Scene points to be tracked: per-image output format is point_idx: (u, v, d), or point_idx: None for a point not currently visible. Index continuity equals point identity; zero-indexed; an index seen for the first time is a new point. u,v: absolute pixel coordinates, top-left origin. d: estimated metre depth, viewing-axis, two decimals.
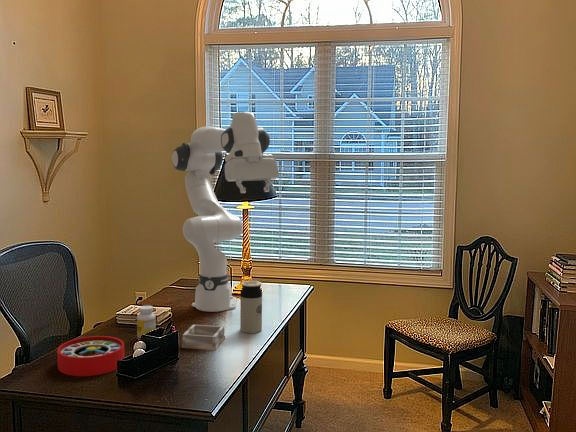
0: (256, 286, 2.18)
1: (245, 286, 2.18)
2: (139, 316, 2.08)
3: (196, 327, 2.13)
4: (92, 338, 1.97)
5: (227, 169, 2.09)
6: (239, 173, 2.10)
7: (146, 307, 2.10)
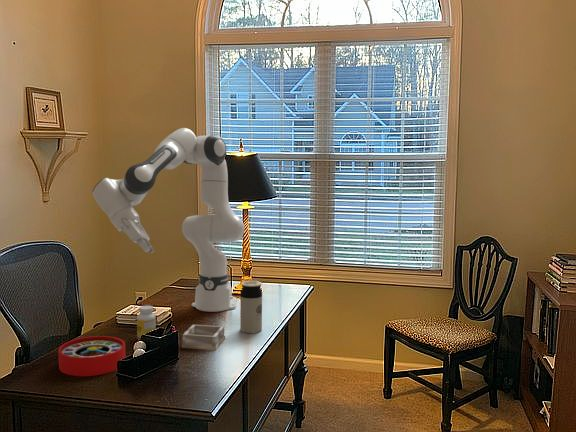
0: (256, 286, 2.18)
1: (245, 286, 2.18)
2: (139, 316, 2.08)
3: (196, 327, 2.13)
4: (93, 338, 1.97)
5: None
6: None
7: (146, 307, 2.10)
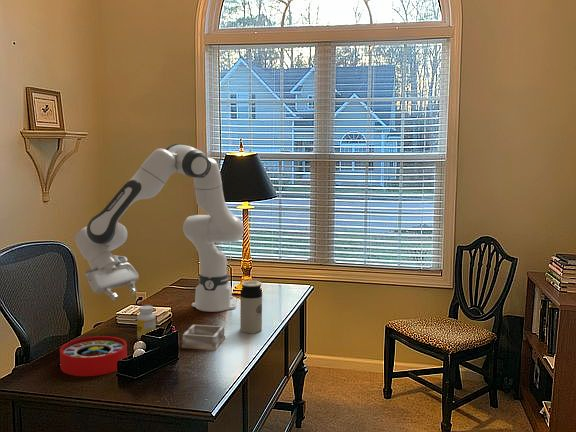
0: (256, 286, 2.18)
1: (245, 286, 2.18)
2: (139, 316, 2.08)
3: (196, 327, 2.13)
4: (94, 338, 1.97)
5: None
6: None
7: (146, 307, 2.10)
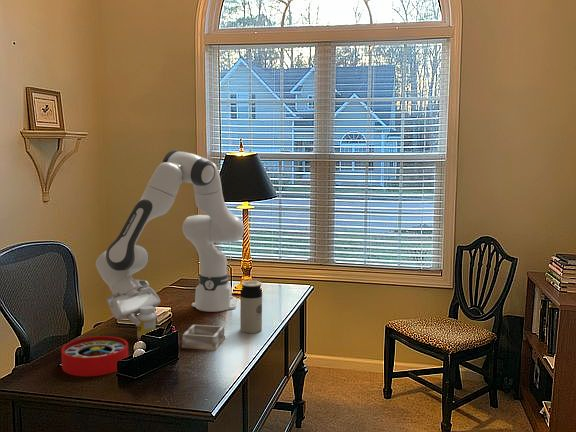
0: (256, 286, 2.18)
1: (245, 286, 2.18)
2: (139, 316, 2.08)
3: (196, 327, 2.13)
4: (95, 338, 1.96)
5: None
6: None
7: (146, 307, 2.10)
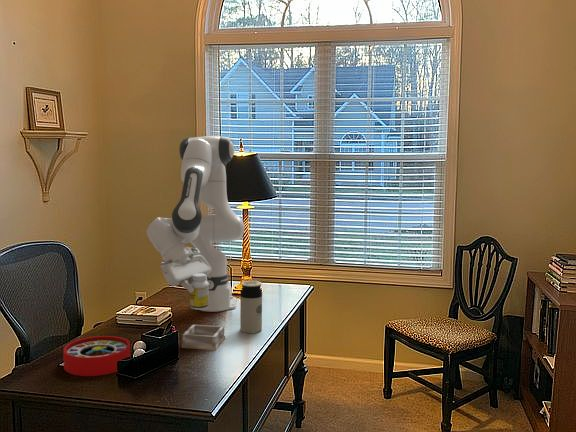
0: (256, 286, 2.18)
1: (245, 286, 2.18)
2: (192, 283, 2.04)
3: (196, 327, 2.13)
4: (96, 338, 1.97)
5: None
6: None
7: (199, 274, 2.05)
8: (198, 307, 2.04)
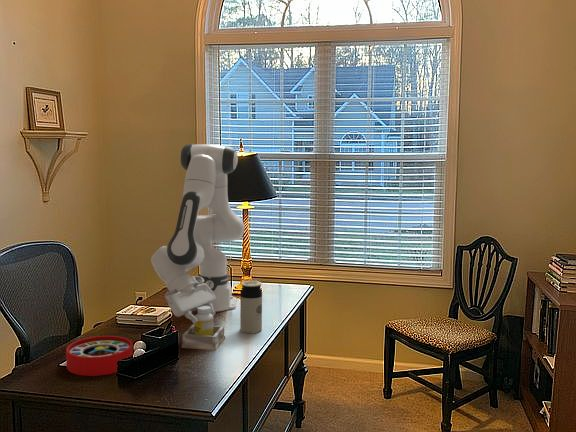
0: (256, 286, 2.18)
1: (245, 286, 2.18)
2: (197, 316, 2.05)
3: None
4: (99, 338, 1.97)
5: None
6: None
7: (204, 307, 2.07)
8: None
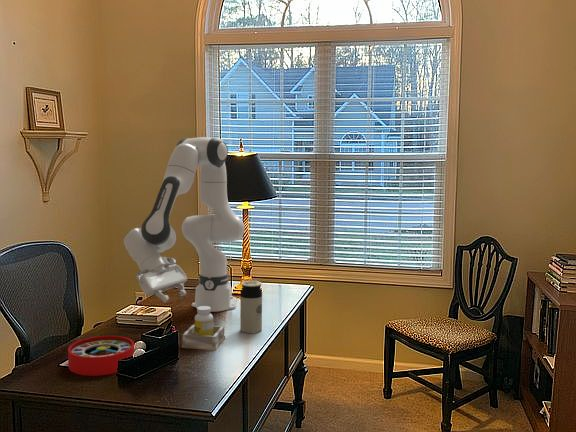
0: (256, 286, 2.18)
1: (245, 286, 2.18)
2: (197, 317, 2.05)
3: None
4: (100, 338, 1.97)
5: None
6: None
7: (204, 308, 2.07)
8: None
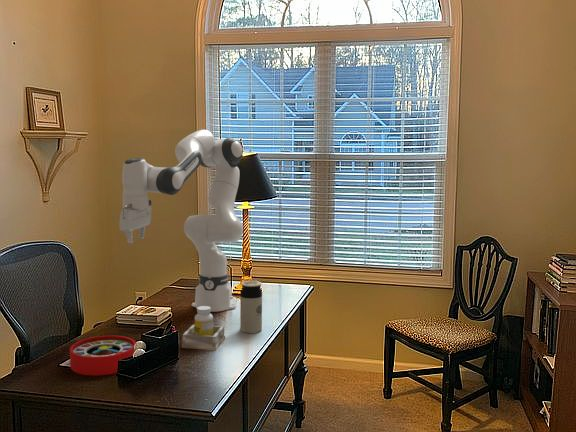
0: (256, 286, 2.18)
1: (245, 286, 2.18)
2: (197, 317, 2.05)
3: None
4: (102, 338, 1.97)
5: None
6: None
7: (204, 308, 2.07)
8: None
